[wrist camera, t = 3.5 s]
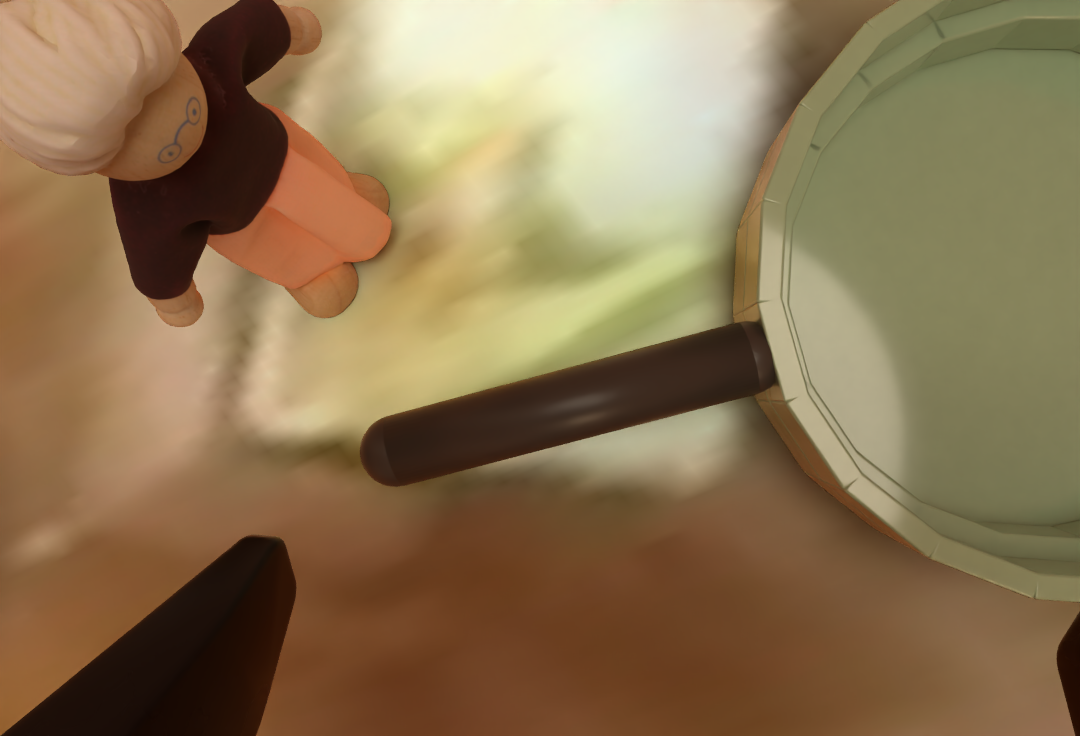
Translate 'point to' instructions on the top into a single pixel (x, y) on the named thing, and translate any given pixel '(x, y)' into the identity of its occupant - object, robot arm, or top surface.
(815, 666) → the top surface
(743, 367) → the pan handle
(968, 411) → the pan
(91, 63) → the grandmother figurine
